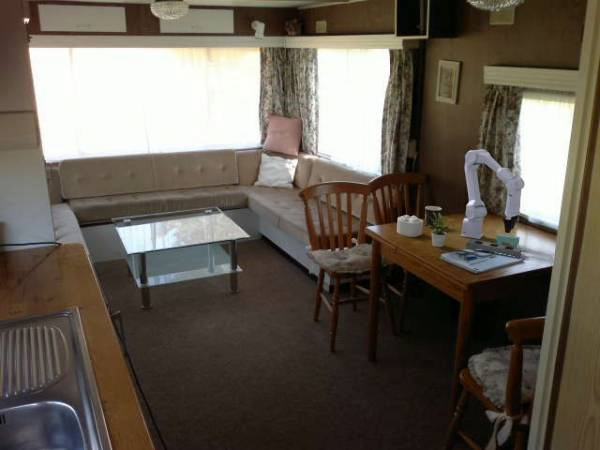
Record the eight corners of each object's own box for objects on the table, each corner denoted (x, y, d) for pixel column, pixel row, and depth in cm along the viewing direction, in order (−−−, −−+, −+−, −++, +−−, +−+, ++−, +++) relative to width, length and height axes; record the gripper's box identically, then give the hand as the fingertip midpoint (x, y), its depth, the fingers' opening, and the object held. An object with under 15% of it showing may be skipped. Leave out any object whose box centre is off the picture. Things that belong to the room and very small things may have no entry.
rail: (465, 248, 262) (466, 242, 261) (469, 245, 267) (469, 239, 266) (518, 258, 250) (519, 251, 250) (521, 254, 255) (522, 248, 255)
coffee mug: (427, 222, 303) (428, 205, 300) (442, 225, 298) (444, 207, 296) (418, 227, 294) (420, 209, 291) (433, 230, 289) (435, 212, 286)
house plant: (415, 241, 270) (417, 209, 266) (438, 238, 275) (441, 207, 271) (432, 250, 258) (435, 217, 253) (456, 247, 263) (459, 214, 258)
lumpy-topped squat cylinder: (412, 237, 277) (413, 221, 274) (391, 231, 286) (393, 215, 283) (424, 234, 283) (425, 217, 281) (404, 228, 293) (405, 212, 290)
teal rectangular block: (495, 245, 267) (496, 235, 266) (496, 244, 270) (498, 233, 268) (517, 249, 262) (518, 238, 261) (518, 247, 265) (519, 237, 263)
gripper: (518, 207, 252) (514, 236, 256) (524, 201, 264) (520, 228, 268) (502, 205, 255) (499, 233, 259) (509, 199, 267) (505, 226, 271)
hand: (509, 230), depth 264 cm, fingers open, 7 cm apart
